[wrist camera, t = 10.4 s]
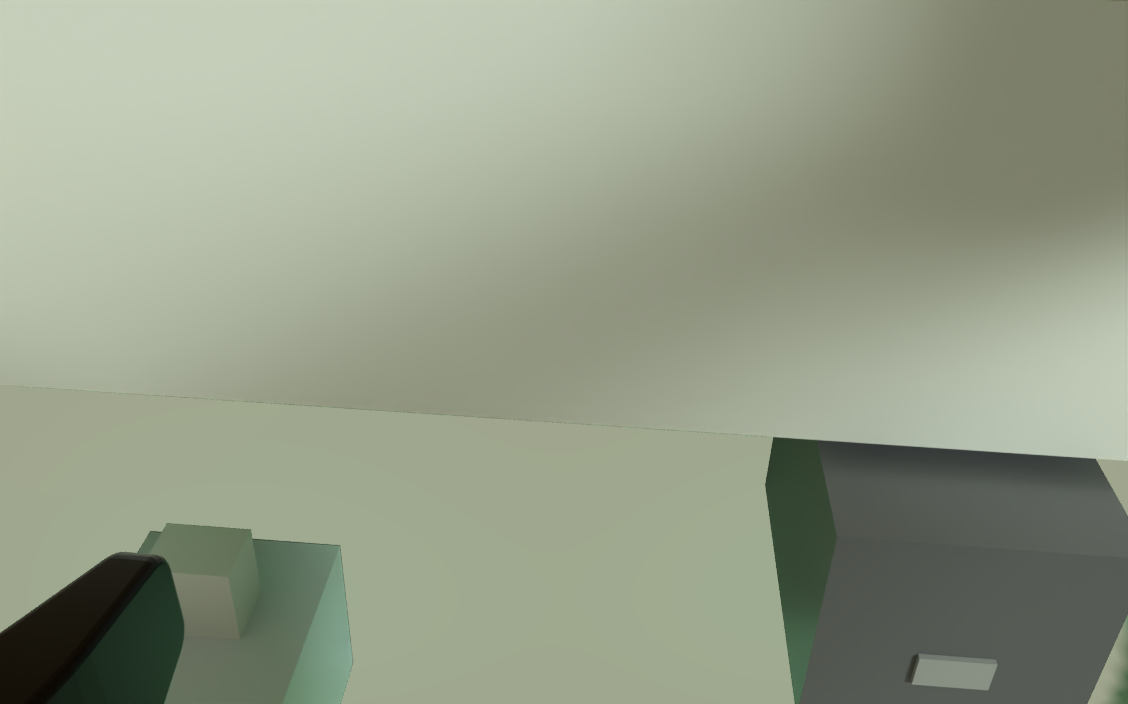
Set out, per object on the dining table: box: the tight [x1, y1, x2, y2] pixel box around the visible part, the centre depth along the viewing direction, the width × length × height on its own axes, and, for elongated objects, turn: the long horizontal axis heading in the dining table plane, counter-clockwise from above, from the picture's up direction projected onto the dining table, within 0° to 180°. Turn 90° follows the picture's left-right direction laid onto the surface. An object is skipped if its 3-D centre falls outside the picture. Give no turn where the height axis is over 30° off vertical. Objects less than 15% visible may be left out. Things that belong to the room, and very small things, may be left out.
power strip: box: [0, 0, 1128, 461], centre depth 17 cm, size 22×7×4 cm, turn 88°
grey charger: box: [138, 523, 353, 704], centre depth 23 cm, size 4×6×6 cm
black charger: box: [765, 437, 1128, 704], centre depth 18 cm, size 4×6×6 cm
